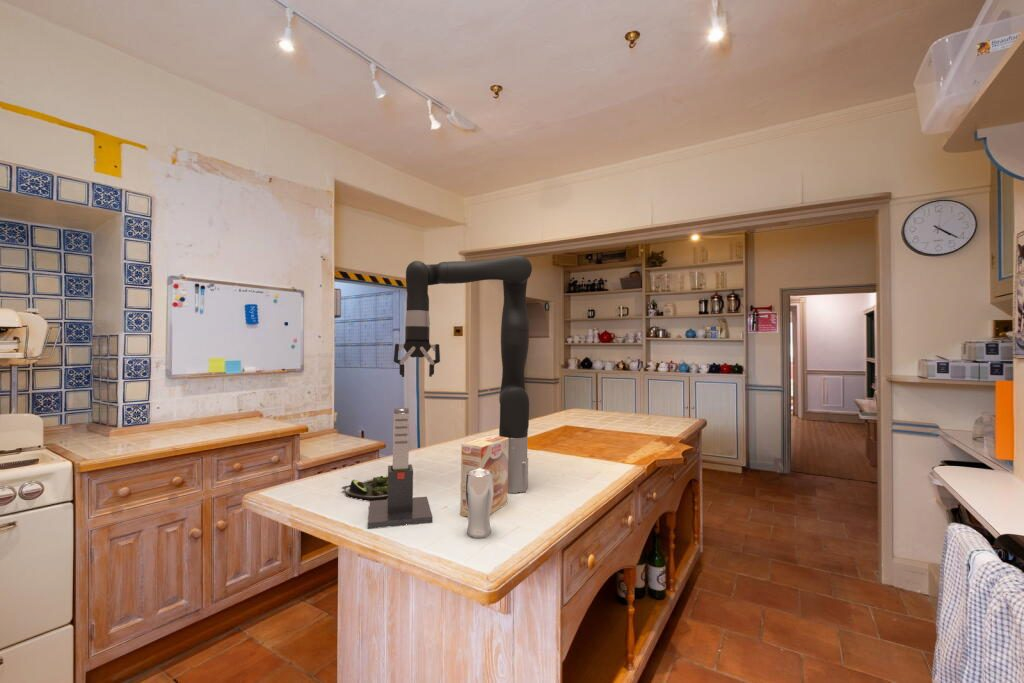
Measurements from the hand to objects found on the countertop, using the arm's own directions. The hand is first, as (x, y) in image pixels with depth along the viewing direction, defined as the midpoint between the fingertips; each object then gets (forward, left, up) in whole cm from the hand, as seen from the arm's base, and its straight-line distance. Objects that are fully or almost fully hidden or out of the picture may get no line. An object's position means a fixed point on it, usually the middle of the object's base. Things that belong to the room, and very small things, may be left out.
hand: (416, 376), depth 141 cm
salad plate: (+12, +3, -37) cm, 39 cm away
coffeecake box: (-25, +11, -36) cm, 45 cm away
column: (-3, +19, -29) cm, 34 cm away
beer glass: (-27, +27, -36) cm, 53 cm away
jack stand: (-3, +19, -36) cm, 41 cm away
